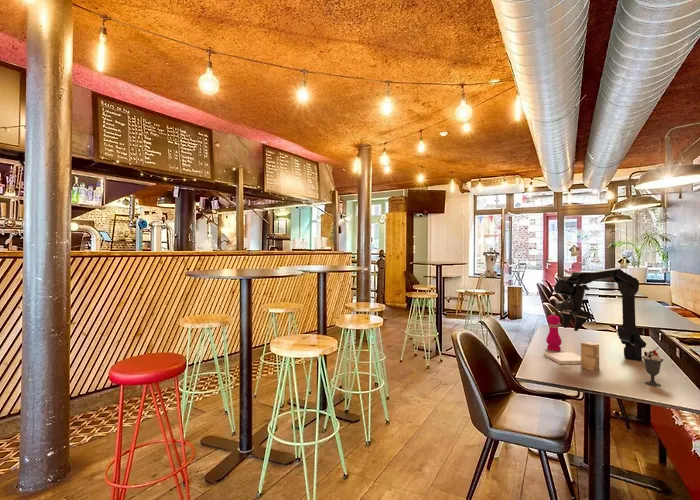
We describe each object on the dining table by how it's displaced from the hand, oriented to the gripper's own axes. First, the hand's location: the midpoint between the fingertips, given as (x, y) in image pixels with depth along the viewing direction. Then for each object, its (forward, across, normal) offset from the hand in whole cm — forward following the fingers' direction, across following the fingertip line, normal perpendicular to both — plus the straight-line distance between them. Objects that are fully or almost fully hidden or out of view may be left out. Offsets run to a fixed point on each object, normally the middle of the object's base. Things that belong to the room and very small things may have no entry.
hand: (570, 329), depth 177 cm
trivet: (+15, -2, +2) cm, 15 cm away
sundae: (+13, +31, +18) cm, 38 cm away
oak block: (+14, +10, +6) cm, 19 cm away
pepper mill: (+14, -21, +6) cm, 26 cm away
